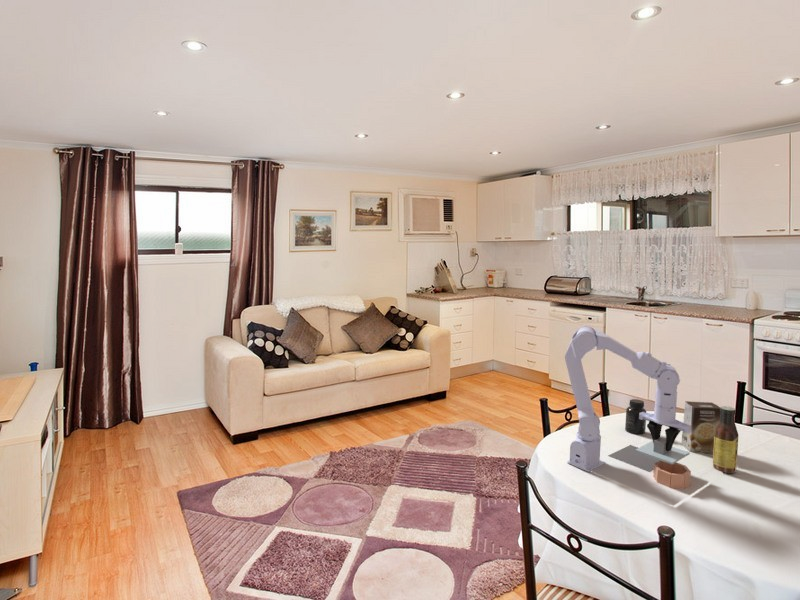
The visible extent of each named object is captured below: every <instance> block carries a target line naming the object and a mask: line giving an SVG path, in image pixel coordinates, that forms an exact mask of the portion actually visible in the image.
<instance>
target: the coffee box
mask: <svg viewBox="0 0 800 600" xmlns="http://www.w3.org/2000/svg"><path fill="white" fill-rule="evenodd" d="M720 407H721V406H719V405H717V404H715V403H714V402H708V401H706V402H705V401H687V400H686V401H685V403H684V412H683V413H684V414H683V423H685V424H687V425H690V426H691V432H690V433H685V432H684V431H681V432H682V434H681V435H682V436H681V443H680V446H682V447H684V448H685V450H687V452H690V453H703V454H707V455H709V454H710V455H713V450H714V436H715V428H716V426H717V424H718V423H719V422H720V414H721V413H720Z"/></svg>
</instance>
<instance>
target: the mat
mask: <svg viewBox="0 0 800 600" xmlns="http://www.w3.org/2000/svg"><path fill="white" fill-rule="evenodd" d="M638 448H639V447H638V446H634V445H632V444H629V445H627V446H625V447H623V448H621V449H618V450H617V451H614V452H613V453H609V454H608V455H607V457H609V458H613V459H615V460H617V461H619V462H622V463H625V464H628V465H630V466H633V467H635V468H638V469H641V470H643V471H646V472H649V473H650V472H653V469H654V463H656V462H658V461H660V460H658V459H655V458H652V457H650V456H647V455H644V454H641V453H638V452H635V450H636V449H638Z"/></svg>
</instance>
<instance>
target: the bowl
mask: <svg viewBox="0 0 800 600" xmlns="http://www.w3.org/2000/svg"><path fill="white" fill-rule="evenodd" d="M691 472H692V471H691V470H690V468H688V466H687V465H684V464H682V463H679V462H678V461H677V462H676V463H674V464H669V463H666V462H664V461H661V460H660V461H658V462H656V463H654V469H653V470H652V477H653V478H654V480H655V481H656V483H658V484H660V485H663V486H665V487H667V488H671V489H672V488H673V489H685V488H687V487H689V486H690V485H691V476H692V475H691V474H692V473H691Z"/></svg>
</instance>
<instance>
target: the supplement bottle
mask: <svg viewBox="0 0 800 600" xmlns="http://www.w3.org/2000/svg"><path fill="white" fill-rule="evenodd" d="M628 404H629V405H628V406H627V407H626V409H625V410H626V411H625V425H624V426H625V427H624V431H625V432H627V433H629V434H630V435H637V436H639V435H641V436H643V435H645V433H646V429H647V428H646V427H647V420H644V419H643V420H641V419H639V413H641V412H645V413H648V412H647V410H646V409H645V401H644V400H641V399H635V398H634V399H633V398H632V399H630V400H629V403H628Z"/></svg>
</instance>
